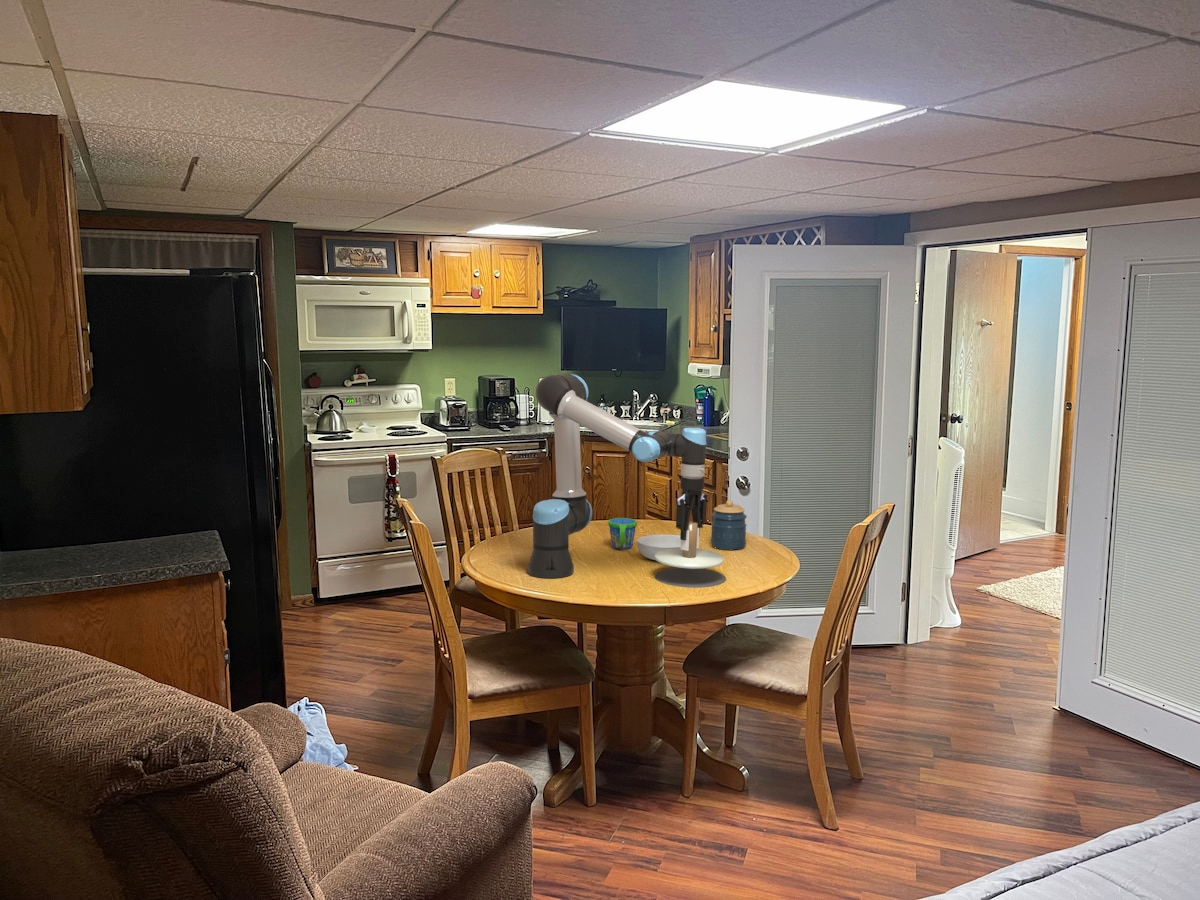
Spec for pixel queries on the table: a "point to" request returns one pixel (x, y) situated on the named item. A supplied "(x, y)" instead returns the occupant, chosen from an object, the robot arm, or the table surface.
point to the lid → (689, 554)
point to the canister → (728, 526)
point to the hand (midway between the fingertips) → (689, 548)
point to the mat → (690, 577)
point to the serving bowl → (657, 544)
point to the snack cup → (622, 532)
